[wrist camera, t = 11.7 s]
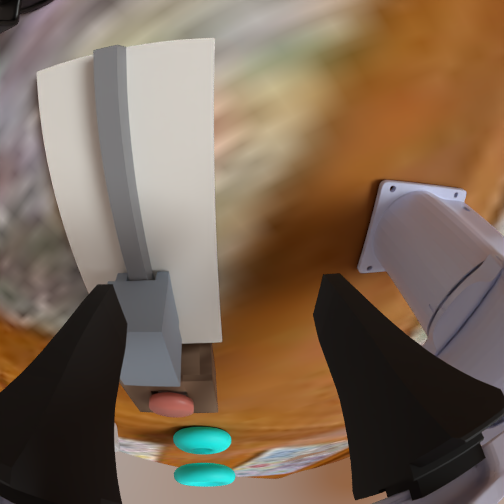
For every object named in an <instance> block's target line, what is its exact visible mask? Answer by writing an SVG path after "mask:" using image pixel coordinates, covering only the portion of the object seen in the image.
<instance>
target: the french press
mask: <svg viewBox="0 0 504 504" xmlns="http://www.w3.org/2000/svg"><path fill="white" fill-rule="evenodd" d="M51 1H53V0H0V33H2V32H4V31H6V30H8V29H10V28H12V27H14V26H15V25H17V24H18V22H19V17H20V14H22V13H27V12H30V11H33V10H36V9H38V8H40V7H42V6H44V5H46V4H48V3H50V2H51Z"/></svg>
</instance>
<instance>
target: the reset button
mask: <svg viewBox="0 0 504 504" xmlns="http://www.w3.org/2000/svg"><path fill="white" fill-rule="evenodd" d="M149 408H150V410H151V411H153V412H154V413H156V414H159V415H162V416H167V417H185V416H188V415H191V414H192V413H193V412H194V402H193V400H192V399H191V398H189V397H188V395H187V392H165V391H158V393H156V394H153V395H152V396H150V399H149Z"/></svg>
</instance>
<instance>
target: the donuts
mask: <svg viewBox="0 0 504 504" xmlns="http://www.w3.org/2000/svg"><path fill="white" fill-rule="evenodd" d="M173 441H174V444H175V445H176V446H177V447H178V448H179V449H181V450H183V451H185V452H188V453H193V454H214V453H219V452H221V451H224V450H225V449H227V448H228V447H229V446H230V444H231V437H230V435H229V434H228V433H227V432H226V431H224V430H222V429H218V428H213V427H188V428H184V429H181V430H179V431H177V432H176V433H175V434H174V437H173ZM174 478H175V480H176V481H177V482H179V483H181V484H183V485H189V486H204V487H205V486H222V485H227V484H230V483H232V482H233V481H234V480H235V473H234V471H233V470H232V469H231V468H229V467H227V466H225V465H221V464H215V463H192V464H186V465H183V466H180V467H179V468H177V469H176V470H175V472H174Z"/></svg>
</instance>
